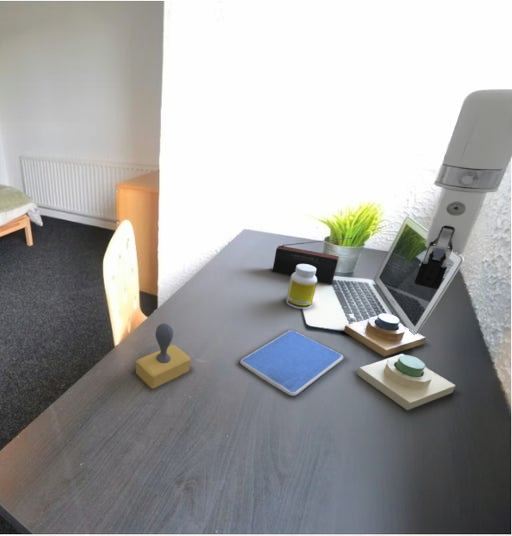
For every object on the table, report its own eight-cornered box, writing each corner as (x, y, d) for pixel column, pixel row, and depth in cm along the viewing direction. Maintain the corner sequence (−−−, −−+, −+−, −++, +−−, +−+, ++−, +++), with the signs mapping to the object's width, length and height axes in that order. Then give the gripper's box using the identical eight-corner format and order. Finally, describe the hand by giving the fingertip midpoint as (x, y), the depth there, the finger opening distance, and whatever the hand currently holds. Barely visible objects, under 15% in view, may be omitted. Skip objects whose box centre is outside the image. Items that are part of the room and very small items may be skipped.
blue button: (384, 319, 87) (386, 311, 86) (401, 328, 83) (404, 320, 82) (371, 323, 86) (373, 315, 85) (388, 332, 82) (391, 324, 81)
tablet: (290, 332, 89) (291, 327, 89) (344, 359, 80) (346, 355, 79) (237, 364, 79) (238, 359, 79) (293, 400, 70) (294, 395, 69)
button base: (380, 322, 92) (384, 308, 90) (422, 345, 83) (428, 330, 82) (343, 332, 89) (347, 318, 87) (383, 358, 80) (388, 343, 78)
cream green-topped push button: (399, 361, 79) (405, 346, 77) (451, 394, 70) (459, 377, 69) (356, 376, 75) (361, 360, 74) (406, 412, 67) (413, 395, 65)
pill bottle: (315, 310, 98) (324, 272, 93) (291, 310, 98) (299, 273, 93) (304, 298, 103) (312, 262, 98) (282, 298, 103) (289, 262, 99)
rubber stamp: (172, 356, 82) (174, 310, 77) (190, 371, 78) (194, 323, 73) (135, 373, 78) (135, 325, 73) (151, 390, 73) (153, 340, 68)
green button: (405, 361, 74) (408, 352, 73) (426, 374, 70) (430, 365, 69) (390, 366, 72) (393, 357, 72) (411, 379, 69) (415, 371, 68)
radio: (271, 273, 117) (279, 228, 111) (274, 269, 120) (282, 225, 113) (338, 288, 108) (351, 240, 101) (340, 284, 110) (352, 236, 103)
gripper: (501, 192, 50) (453, 302, 57) (501, 171, 61) (461, 265, 68) (430, 184, 54) (394, 287, 62) (442, 166, 66) (411, 255, 73)
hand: (429, 275), depth 65 cm, fingers open, 9 cm apart
